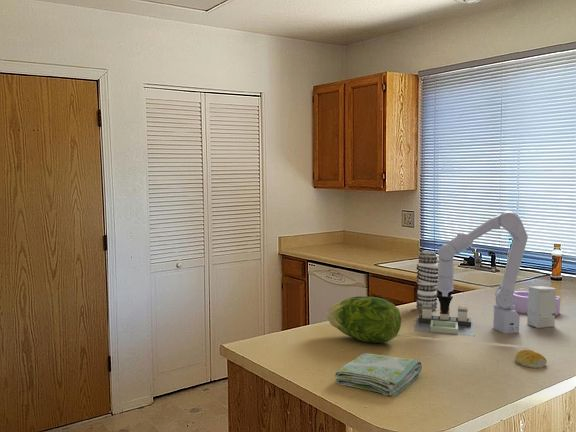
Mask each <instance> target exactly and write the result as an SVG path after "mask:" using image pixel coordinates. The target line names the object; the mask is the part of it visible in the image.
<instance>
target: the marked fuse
mask: <svg viewBox="0 0 576 432" xmlns="http://www.w3.org/2000/svg"><path fill="white" fill-rule="evenodd" d="M439 316H440V319H442V320H449V317H450V308H449V309H448V313H447V314H442V313H441V308H440V307H439Z"/></svg>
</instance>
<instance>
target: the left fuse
mask: <svg viewBox="0 0 576 432" xmlns="http://www.w3.org/2000/svg"><path fill="white" fill-rule="evenodd" d="M421 311H422V314H421V315H422V318H429V319H432V316H433V315H432V313H433V311H432V305H425V304H423V308H422V310H421Z"/></svg>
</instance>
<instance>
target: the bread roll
mask: <svg viewBox="0 0 576 432" xmlns="http://www.w3.org/2000/svg"><path fill="white" fill-rule="evenodd" d="M514 361H515V362H516V364H518V365H521V366H523V367H525V368H530V369H542V368H545V367H546V365H547V358H546V357H545V356H544V355H542V354H541V353H539V352H536V351H534V350H531V349H523V350H519V351H518V352H517V353H516V354H515V357H514Z"/></svg>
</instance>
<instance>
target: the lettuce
mask: <svg viewBox="0 0 576 432" xmlns="http://www.w3.org/2000/svg"><path fill="white" fill-rule="evenodd" d="M326 319H327V321H328V322H329V323H330V325H331V326H332V327H333V328H336V329H337V330H338V331H340V332H341V333H343V334H344V335H346V336H347V337H350V338H353V339H354V340H355V339H356V340H358V341H361V342H364V343H371V344H372V343H389V342H390V341H391V340H393V339H395V338H396V337H397V335H398V334H399V331H400V330H401V326H402V316H401V311H400V308H398V307H397V306H396V305H395V304H394V303H393V302H391V301H390V300H388V299H385V298H381V297H376V296H375V297H374V296H365V295H364V296H363V295H362V296H360V295H358V296H351V297H348V298H345V299H344V300H342V301H339V302H337V303H334V304H333V305H331V306H330V307H329V308H328V309H327V312H326Z"/></svg>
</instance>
